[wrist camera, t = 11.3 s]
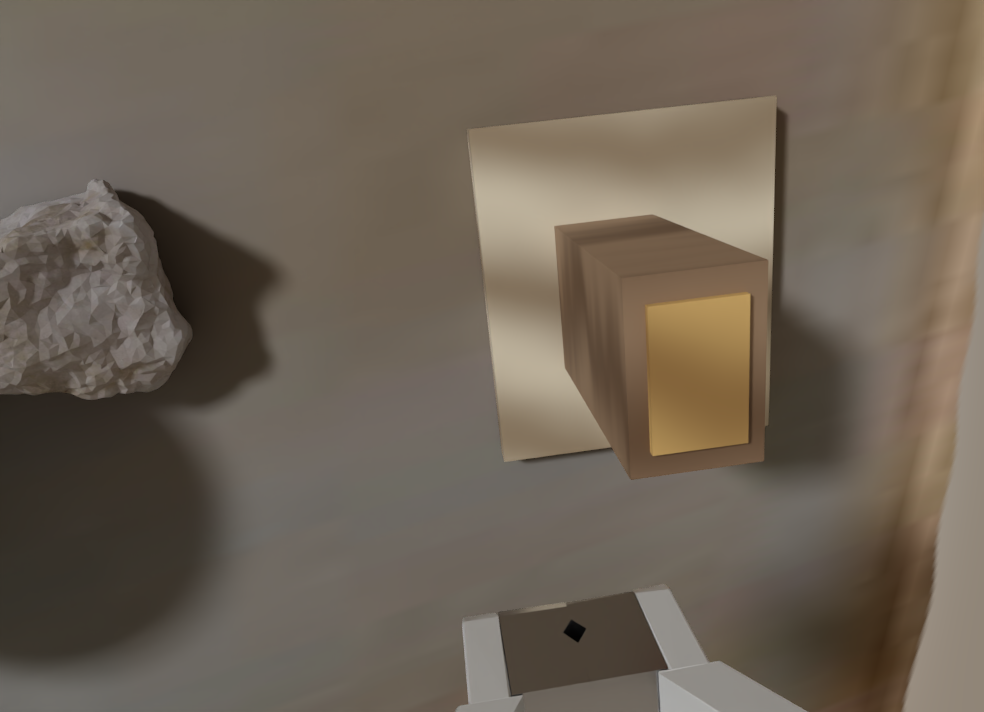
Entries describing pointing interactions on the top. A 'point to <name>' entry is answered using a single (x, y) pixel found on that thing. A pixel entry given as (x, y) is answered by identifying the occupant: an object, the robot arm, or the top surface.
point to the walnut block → (665, 342)
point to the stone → (85, 300)
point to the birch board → (593, 197)
